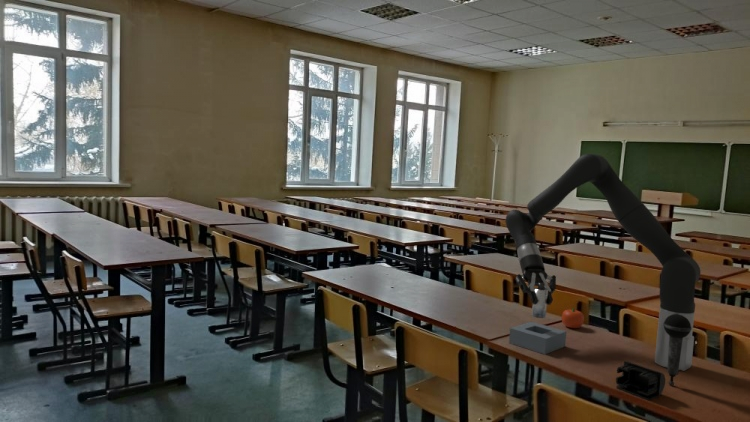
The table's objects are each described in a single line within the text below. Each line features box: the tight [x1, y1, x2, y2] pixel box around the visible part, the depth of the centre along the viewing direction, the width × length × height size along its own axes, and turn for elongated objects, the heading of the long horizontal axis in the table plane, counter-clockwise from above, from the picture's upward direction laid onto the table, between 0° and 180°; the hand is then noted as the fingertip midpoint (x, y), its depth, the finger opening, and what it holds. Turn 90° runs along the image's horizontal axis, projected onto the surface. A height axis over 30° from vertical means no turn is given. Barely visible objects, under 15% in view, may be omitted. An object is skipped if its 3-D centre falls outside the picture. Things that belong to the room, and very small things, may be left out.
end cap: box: [615, 360, 666, 401], centre depth 145 cm, size 10×7×7 cm
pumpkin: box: [561, 307, 585, 329], centre depth 202 cm, size 8×8×7 cm
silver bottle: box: [531, 283, 548, 319], centre depth 179 cm, size 4×4×11 cm
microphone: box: [663, 314, 692, 387], centre depth 150 cm, size 7×7×20 cm
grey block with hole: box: [508, 321, 567, 355], centre depth 180 cm, size 13×13×5 cm
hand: (542, 303), depth 177 cm, fingers closed on silver bottle, 4 cm apart
